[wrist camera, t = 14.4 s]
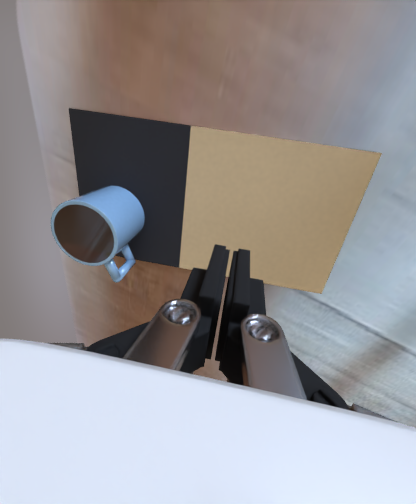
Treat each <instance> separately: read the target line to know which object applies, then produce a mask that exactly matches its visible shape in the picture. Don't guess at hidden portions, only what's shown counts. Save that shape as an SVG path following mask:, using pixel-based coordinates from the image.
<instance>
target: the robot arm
mask: <svg viewBox="0 0 416 504" xmlns="http://www.w3.org/2000/svg"><path fill="white" fill-rule="evenodd" d="M229 253H230V250H228V249H226V246H222V245H217V244H215V245H214V249H213V252H212V255H211V258H210V261H209V265H208V268H207V270H206V269H201V268H195V267H194V268H193V269H192V272H191V274H190V277H189V279H188V281H187V284H186V286H185V289H184V291H183V293H182V296H181V298H180V299H174V300H170V301H168V302H166V303H165V304H164V305H163V306H162V307H161V308H160V309H159V311H158V312H157V313H156V315H155V316H154V317H153V318H152V320H151V321H150V322H147V323H144V324H142V325H139V326H136V327H134V328H131V329H129V330H126V331H123V332H121V333H118V334H115V335H113V336H110V337H108V338H105V339H102V340H100V341H98V342H96V343H94V344H92V345H91V346H89V347H84V343H41V342H35V341H28V340H18V339H0V504H416V427H412V426H408V425H405V424H402V423H398V422H396V421H394V420H391V419H389V418H386V417H384V416H382V415H379V414H377V413H375V412H372V411H370V410H368V409H365V408H363V407H361V406H358V405H356V404H354V403H353V405H352V406H349V405H347V404H346V402H345V401H344V400H343V399H342V398H341V396H340V395H339V394H338V393H337V392H336V391H334V390H333V389H332V388H331V387H330V386H329V385H328V384H327V383H325V382H324V381H323V380H322V379H321V378H320V377H319V376H318V375H316V374H315V373H314V372H313V371H312V370H311V369H310V368H309V367H307V366H306V365H305V364H304V363H303V362H302V361H301V360H300V359H298V358H297V357H296V356H295V355H294V354H293V353H292V352H291V351H290V349H289V346H288V343H287V340H286V338H285V335H284V332H283V330H282V328H281V326H280V325H279V324H278V323H277V322H276V321H275V320H273V319H272V318H270V317H268V316H266V309H265V297H264V284H263V280H260V279H255V278H250V250H245V249H238V251H233V257H232V262H231V267H230V273H229V278H228V283H227V289H226V294H225V299H224V305H223V312H222V318H221V325H220V331H219V337H218V344H217V350H216V357H215V360H216V361H220V366H219V370H220V371H222V372H223V374H224V375H225V376H226V377H227V382H225V381H220V380H216V379H211V378H207V377H203V376H198V375H194V374H193V371H195V370H197V369H199V368H200V367H204V363H205V358H207V359H211V355H212V349H213V344H214V338H215V333H216V327H217V321H218V316H219V310H220V305H221V299H222V294H223V288H224V282H225V276H226V270H227V265H228V259H229Z"/></svg>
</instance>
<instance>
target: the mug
mask: <svg viewBox="0 0 416 504" xmlns="http://www.w3.org/2000/svg"><path fill="white" fill-rule="evenodd" d="M144 220H145V217H144V211H143V208H142V206H141V204H140V202H139V200H138V199H137V198H136V197H135V196H134V195H133V194H132V193H131V192H129V191H128V190H126V189H124V188H122V187H119V186H105V187H103V188H100V189H97V190H95V191H92V192H89V193H87V194H84V195H82V196H79V197H76V198H74V199H71V200H68V201H66V202H63V203H61V204H60V205H59V206H58V207H57V208H56V209H55V210H54V212H53V214H52V217H51V230H52V234H53V236H54V239H55V241H56V243H57V244H58V246H59V247H60V248H61V249H62V251H63V252H64V253H65V254H67V255H68V256H69V257H70V258H72V259H73V260H75V261H77V262H79V263H82V264H85V265H90V266H98V265H103V264H104V265H105V267H106V269H107V271H108V273H109V274H110V276H111V278H112V280H113V281H114V282H120V281H121V280H122V278H123V277H124V276H125V275H126V274H127V272H128V271H129V270H130V269H131V268H132V267H133V265H134V264H135V262H136V261H135V258H134V256H133V254H132V252H131V250H130V248H129V246H128V243H130V242H131V241H132V240H133V239H134V238H135V237H136V236H137V235H138V234H139V233H140V232H141V230H142V228H143V226H144ZM120 251H122V253H123V255H124V257H125V259H126V262H125V263H124V264H123V265H122V266H121V267H120V268H119V269H118V268H117V266H116V264H115V262H114V260H113V258H114V257H115V256H116V255H117V254H118V253H119V252H120Z"/></svg>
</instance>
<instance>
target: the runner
mask: <svg viewBox="0 0 416 504" xmlns="http://www.w3.org/2000/svg"><path fill="white" fill-rule="evenodd" d="M69 114H70V122H71V131H72V139H73V147H74V155H75V164H76V172H77V180H78V188H79V196H82V195H84V194H87V193H89V192H92V191H95V190H97V189H100V188H103V187H105V186H119V187H122V188H124V189H126V190H128V191H129V192H131V193H132V194H133V195H134V196H135V197H136V198H137V199H138V200H139V202H140V204H141V206H142V208H143V211H144V217H145V220H144V226H143V228H142V230H141V232H140V233H139V234H138V235H137V236H136V237H135V238H134V239H133V240H132V241H131V242H130V243H128V246H129V248H130V250H131V252H132V254H133V256H134V258H135V259H136V260H141V261H147V262H152V263H158V264H163V265H168V266H174V267H179V268H185V269H190V270H192V269H193V268H194V267H195V268H201V269H206V270H207V268H208V265H209V261H210V258H211V255H212V252H213V249H214V245H215V244H217V245H222V246H226V249H228V250H230V253H229V259H228V265H227V270H226V276H228V277H229V273H230V267H231V262H232V257H233V251H238V249H245V250H250V278H255V279H260V280H263V283H266V284H271V285H276V286H282V287H287V288H293V289H298V290H303V291H309V292H314V293H320V294H322V291H323V289H324V287H325V284H326V282H327V280H328V277H329V275H330V273H331V270H332V268H333V266H334V263H335V261H336V259H337V256H338V254H339V252H340V249H341V247H342V245H343V242H344V240H345V238H346V235H347V233H348V231H349V228H350V226H351V224H352V221H353V219H354V217H355V214H356V212H357V210H358V207H359V205H360V203H361V200H362V198H363V196H364V193H365V191H366V189H367V187H368V184H369V182H370V180H371V177H372V175H373V173H374V170H375V168H376V166H377V163H378V161H379V159H380V156H381V154H382V153H376V152H369V151H363V150H356V149H349V148H342V147H335V146H328V145H321V144H314V143H307V142H300V141H293V140H286V139H279V138H272V137H265V136H258V135H251V134H244V133H237V132H230V131H223V130H216V129H210V128H203V127H196V126H189V125H182V124H175V123H168V122H161V121H154V120H147V119H140V118H133V117H126V116H119V115H112V114H105V113H98V112H91V111H84V110H77V109H70V108H69ZM116 256H120V257H124V255H123V253H122V251H120V252H119V253H118V254H117V255H116Z"/></svg>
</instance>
